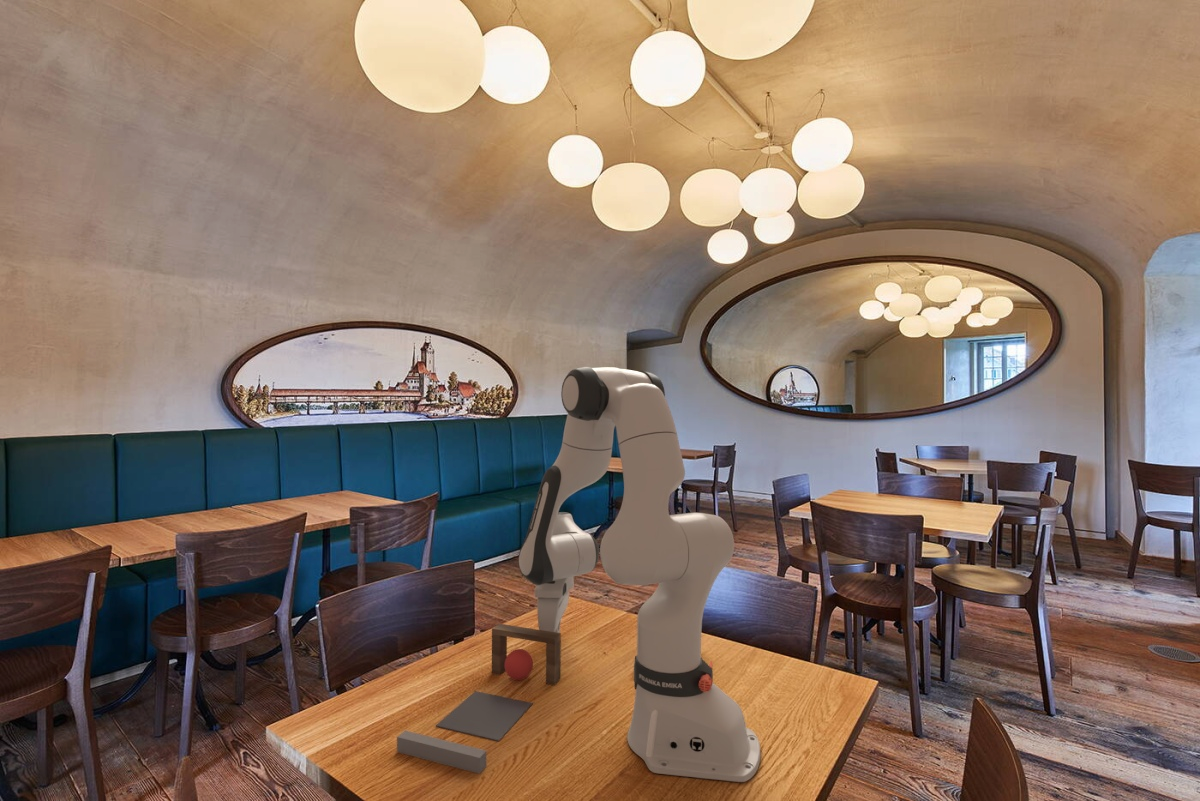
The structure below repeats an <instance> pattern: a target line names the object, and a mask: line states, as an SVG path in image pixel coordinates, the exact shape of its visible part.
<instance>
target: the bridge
mask: <svg viewBox="0 0 1200 801" xmlns="http://www.w3.org/2000/svg"><path fill="white" fill-rule="evenodd" d="M508 638H512V639H519V640H524V641H532V642H539V643H542V644H543V643H544V644H545V684H546V685H549V686H556V685H557V684H558V682H559V681H560V680H561V675H562V674H561V673H562V672H561V671H562V670H561V665H562V664H561V662H562V660H561V659H562V658H561V656H562V655H561V653H562V652H561V651H562V649H561V648H562V643H561V642H562V641H561V640H562V634H561V632H560V633H556V632H550V631H543V630H539V629H537V628H531V627H524V626H523V627H522V626H516V625H511V624H503V623H498V624H497V625H495V626H493V627H492V628H491V674H493V675H498V676H500V675H502V673H504V672H506V671H505V660H506V658H507V656H508V652H507V651H508Z"/></svg>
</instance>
